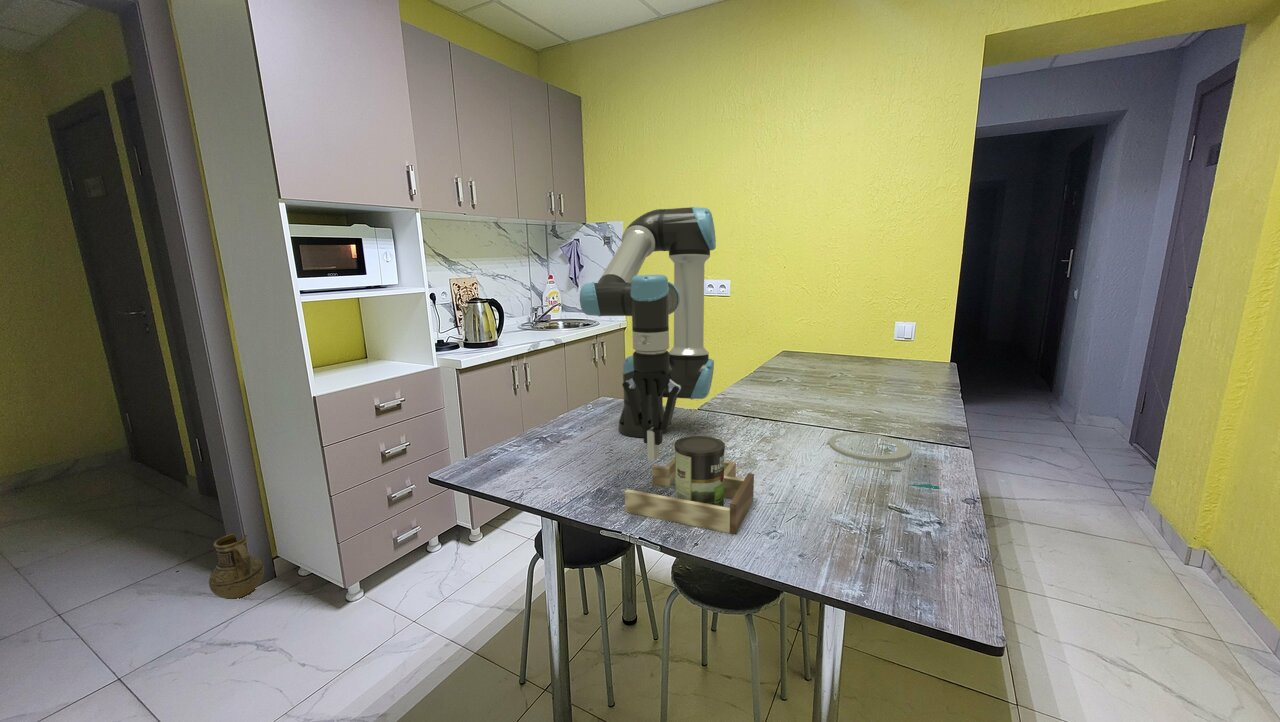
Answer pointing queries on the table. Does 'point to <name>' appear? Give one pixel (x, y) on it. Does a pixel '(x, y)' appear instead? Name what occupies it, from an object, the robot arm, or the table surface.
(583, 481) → the table surface
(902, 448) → the place mat
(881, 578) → the table surface
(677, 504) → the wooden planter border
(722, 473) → the coffee can
